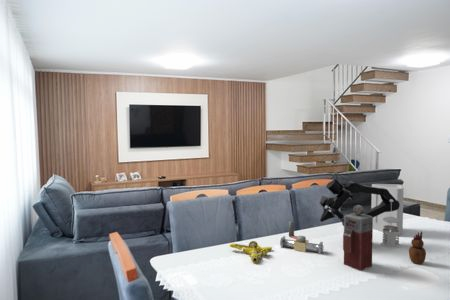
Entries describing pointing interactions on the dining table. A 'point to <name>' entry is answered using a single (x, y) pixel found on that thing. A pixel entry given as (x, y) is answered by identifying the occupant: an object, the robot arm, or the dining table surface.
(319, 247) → the valve body
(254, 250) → the yellow toy airplane
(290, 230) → the lever
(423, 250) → the wooden figurine
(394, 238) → the french press
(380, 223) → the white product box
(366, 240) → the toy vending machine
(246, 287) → the dining table surface
